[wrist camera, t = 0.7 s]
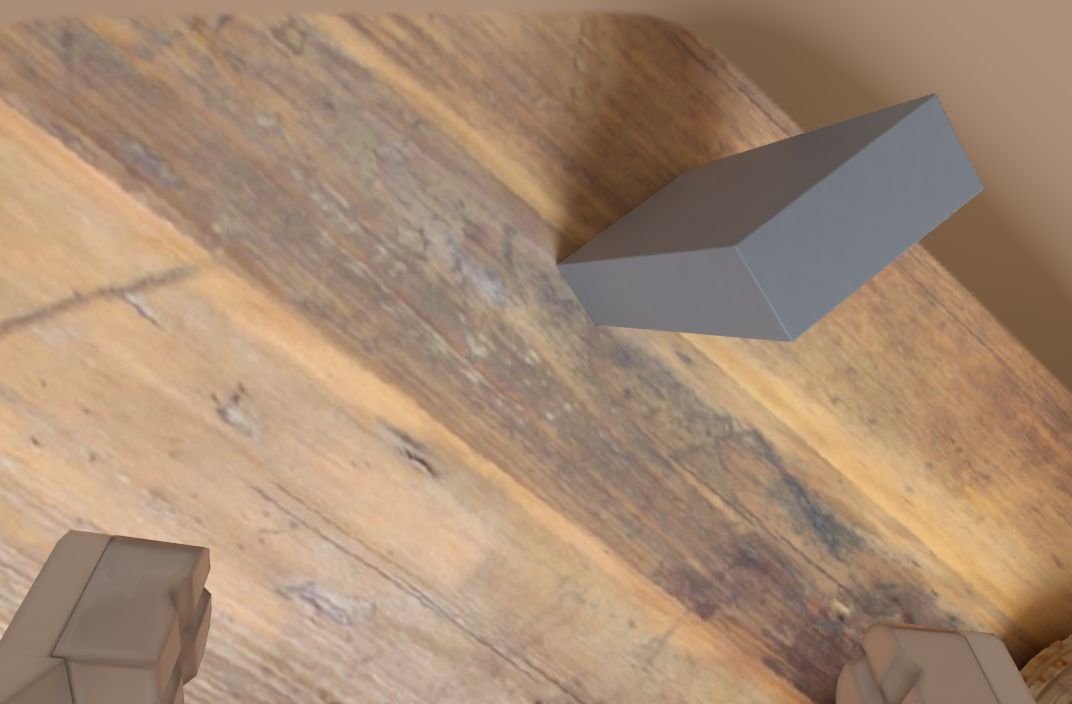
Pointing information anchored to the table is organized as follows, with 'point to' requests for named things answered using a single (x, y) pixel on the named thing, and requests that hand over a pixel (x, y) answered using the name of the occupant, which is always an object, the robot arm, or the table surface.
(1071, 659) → the seashell
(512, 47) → the table surface
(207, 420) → the table surface
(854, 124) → the grey rectangular block
